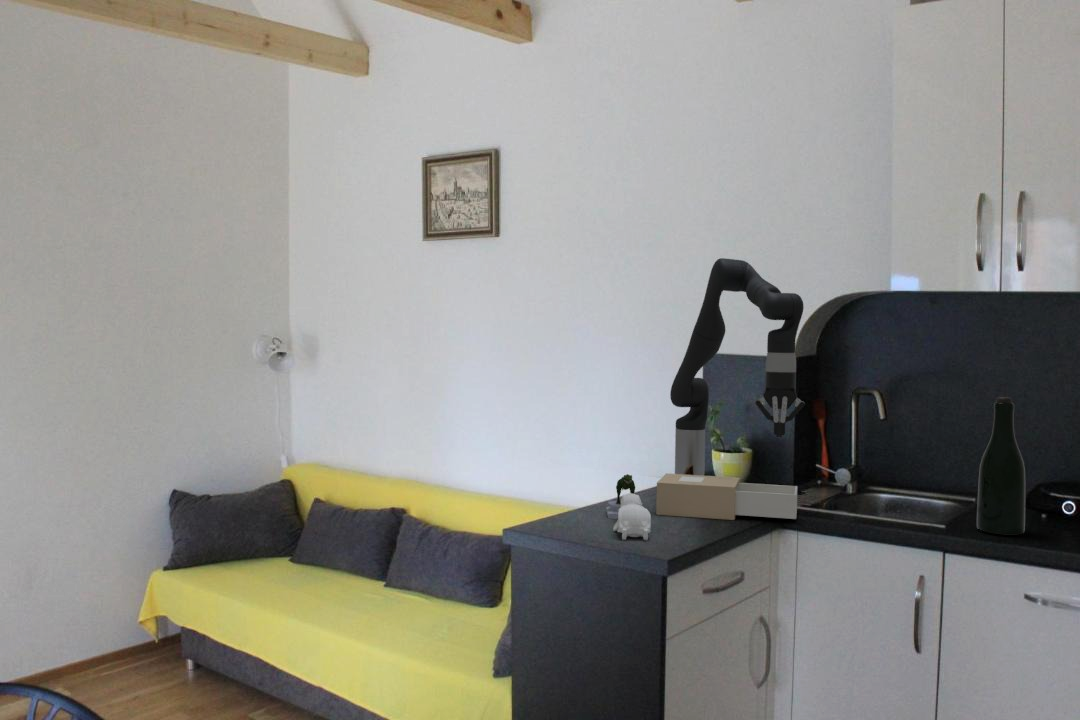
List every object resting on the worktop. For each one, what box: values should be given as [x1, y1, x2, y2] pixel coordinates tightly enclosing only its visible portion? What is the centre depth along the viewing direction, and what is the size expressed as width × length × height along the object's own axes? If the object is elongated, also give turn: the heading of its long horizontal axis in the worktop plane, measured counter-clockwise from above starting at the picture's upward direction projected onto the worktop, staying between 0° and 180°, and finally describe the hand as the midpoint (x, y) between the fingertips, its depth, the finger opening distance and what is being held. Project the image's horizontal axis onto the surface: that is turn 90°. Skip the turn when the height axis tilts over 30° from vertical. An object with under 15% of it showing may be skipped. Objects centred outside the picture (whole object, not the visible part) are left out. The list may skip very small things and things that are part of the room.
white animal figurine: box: [612, 492, 652, 541], centre depth 217 cm, size 9×8×15 cm
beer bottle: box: [976, 396, 1026, 535], centre depth 223 cm, size 10×10×33 cm
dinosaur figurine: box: [605, 473, 644, 520], centre depth 239 cm, size 9×20×12 cm, turn 179°
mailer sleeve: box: [655, 472, 741, 521], centre depth 244 cm, size 16×20×8 cm
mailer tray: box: [735, 482, 798, 520], centre depth 239 cm, size 14×19×6 cm
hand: (779, 436), depth 237 cm, fingers closed
